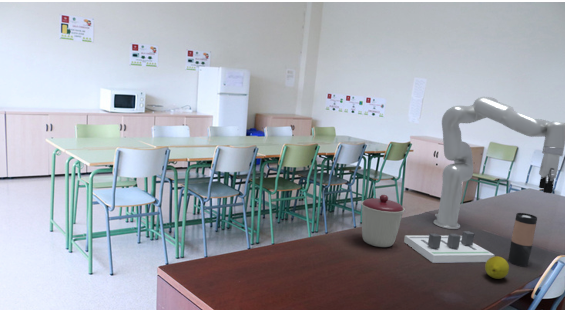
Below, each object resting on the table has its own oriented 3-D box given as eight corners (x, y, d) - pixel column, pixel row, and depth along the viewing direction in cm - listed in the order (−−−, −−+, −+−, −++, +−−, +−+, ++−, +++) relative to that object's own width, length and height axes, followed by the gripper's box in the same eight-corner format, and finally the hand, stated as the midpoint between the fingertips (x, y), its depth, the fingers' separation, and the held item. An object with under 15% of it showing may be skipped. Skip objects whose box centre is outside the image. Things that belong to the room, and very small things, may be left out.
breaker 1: (427, 245, 184) (429, 233, 183) (435, 245, 185) (437, 233, 184) (431, 248, 181) (433, 236, 181) (439, 248, 182) (441, 236, 181)
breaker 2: (446, 245, 187) (448, 233, 186) (454, 245, 187) (456, 233, 187) (451, 248, 184) (453, 236, 183) (458, 248, 185) (460, 236, 184)
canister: (367, 232, 204) (373, 187, 200) (405, 243, 194) (412, 196, 190) (348, 242, 189) (355, 193, 186) (389, 254, 179) (396, 203, 176)
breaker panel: (403, 242, 196) (404, 235, 195) (459, 242, 203) (460, 235, 203) (432, 262, 175) (433, 255, 174) (493, 261, 182) (494, 254, 182)
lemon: (489, 270, 172) (493, 250, 171) (511, 278, 167) (515, 258, 166) (477, 277, 165) (481, 256, 164) (499, 285, 160) (503, 264, 158)
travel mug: (526, 261, 187) (535, 214, 183) (530, 268, 179) (539, 219, 176) (506, 257, 189) (514, 211, 186) (508, 263, 182) (517, 216, 178)
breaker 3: (461, 242, 192) (462, 231, 191) (468, 242, 193) (470, 231, 192) (465, 245, 189) (467, 233, 188) (472, 245, 190) (474, 233, 189)
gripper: (539, 147, 200) (531, 185, 202) (546, 152, 183) (539, 193, 186) (558, 150, 197) (550, 188, 200) (567, 154, 181) (559, 196, 184)
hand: (545, 190), depth 193 cm, fingers open, 9 cm apart
